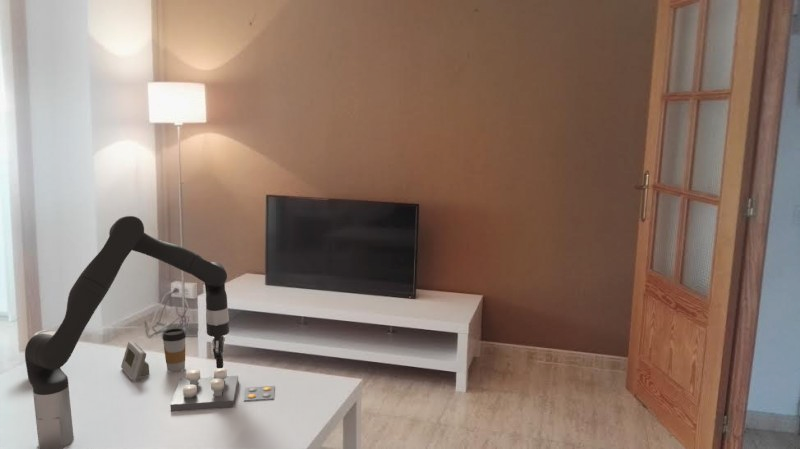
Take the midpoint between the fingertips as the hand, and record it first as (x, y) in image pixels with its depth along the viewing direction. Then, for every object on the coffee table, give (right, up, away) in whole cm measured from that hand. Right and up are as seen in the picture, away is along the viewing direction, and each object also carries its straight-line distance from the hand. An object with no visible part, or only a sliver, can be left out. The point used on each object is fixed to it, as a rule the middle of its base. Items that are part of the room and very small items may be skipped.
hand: (220, 367), depth 228 cm
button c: (-9, -7, 0) cm, 11 cm away
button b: (+1, -8, -8) cm, 11 cm away
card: (+14, -9, -2) cm, 17 cm away
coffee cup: (-22, -5, +18) cm, 29 cm away
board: (-4, -9, -4) cm, 10 cm away
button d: (0, -6, +1) cm, 7 cm away
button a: (-7, -10, -9) cm, 15 cm away
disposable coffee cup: (-68, -5, +18) cm, 71 cm away
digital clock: (-36, -6, +14) cm, 39 cm away
